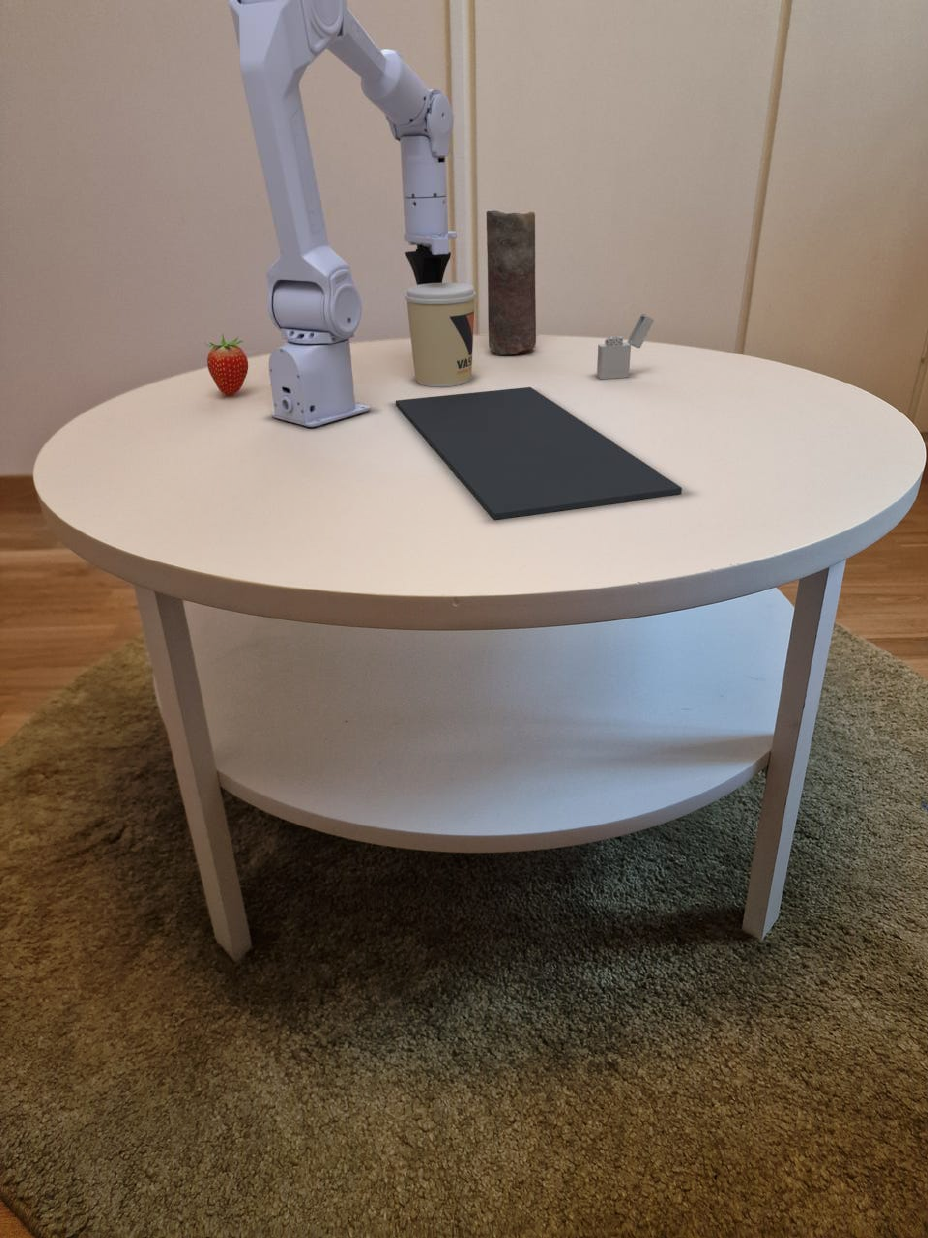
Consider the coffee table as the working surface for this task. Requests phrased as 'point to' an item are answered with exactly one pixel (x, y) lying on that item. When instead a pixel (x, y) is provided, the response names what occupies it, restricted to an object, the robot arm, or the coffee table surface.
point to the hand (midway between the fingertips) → (430, 305)
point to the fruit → (227, 366)
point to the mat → (529, 453)
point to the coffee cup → (441, 332)
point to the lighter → (621, 351)
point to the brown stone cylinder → (511, 282)
